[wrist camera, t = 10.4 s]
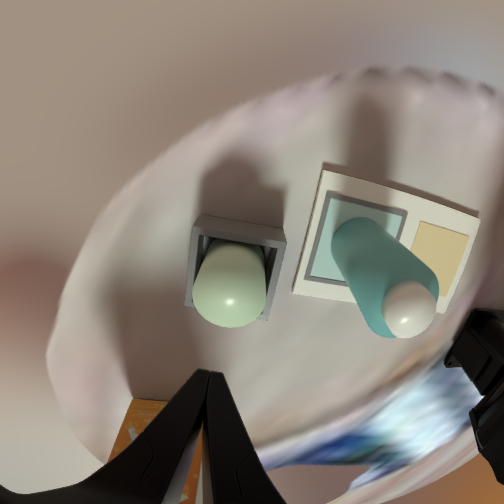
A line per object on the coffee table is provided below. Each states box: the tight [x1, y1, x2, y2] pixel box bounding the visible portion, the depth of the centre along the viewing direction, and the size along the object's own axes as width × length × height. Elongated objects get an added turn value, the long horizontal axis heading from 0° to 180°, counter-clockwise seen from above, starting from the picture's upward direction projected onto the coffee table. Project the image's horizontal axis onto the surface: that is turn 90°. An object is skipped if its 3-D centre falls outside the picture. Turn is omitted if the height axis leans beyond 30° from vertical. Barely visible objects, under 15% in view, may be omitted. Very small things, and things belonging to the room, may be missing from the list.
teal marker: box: [331, 217, 439, 338], centre depth 14 cm, size 4×4×8 cm
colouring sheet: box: [292, 169, 481, 313], centre depth 18 cm, size 13×8×1 cm, turn 80°
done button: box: [192, 238, 266, 328], centre depth 16 cm, size 4×4×4 cm
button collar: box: [185, 214, 287, 321], centre depth 17 cm, size 5×5×2 cm
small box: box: [107, 398, 203, 504], centre depth 19 cm, size 8×6×13 cm
